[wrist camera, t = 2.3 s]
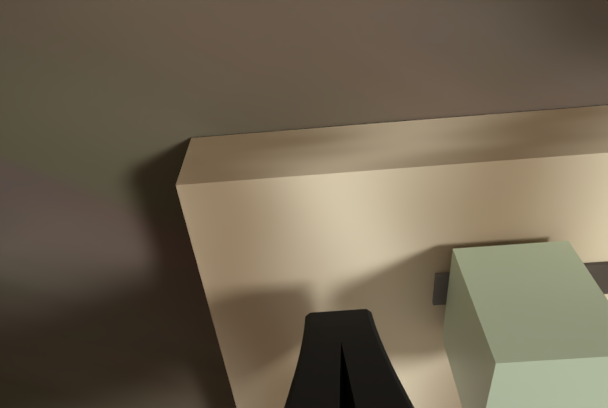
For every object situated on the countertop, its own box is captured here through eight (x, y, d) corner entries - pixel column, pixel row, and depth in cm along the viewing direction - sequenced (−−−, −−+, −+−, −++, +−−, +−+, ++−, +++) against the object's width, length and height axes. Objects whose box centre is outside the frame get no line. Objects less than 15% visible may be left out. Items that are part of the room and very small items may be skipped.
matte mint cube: (442, 338, 13) (475, 453, 11) (452, 248, 11) (496, 363, 9) (541, 331, 13) (598, 447, 11) (568, 240, 11) (644, 354, 9)
